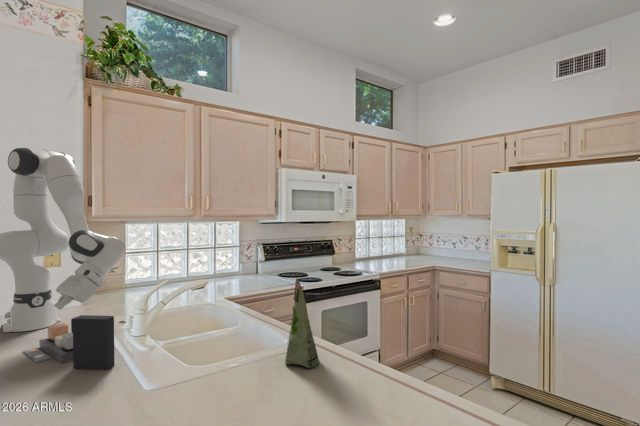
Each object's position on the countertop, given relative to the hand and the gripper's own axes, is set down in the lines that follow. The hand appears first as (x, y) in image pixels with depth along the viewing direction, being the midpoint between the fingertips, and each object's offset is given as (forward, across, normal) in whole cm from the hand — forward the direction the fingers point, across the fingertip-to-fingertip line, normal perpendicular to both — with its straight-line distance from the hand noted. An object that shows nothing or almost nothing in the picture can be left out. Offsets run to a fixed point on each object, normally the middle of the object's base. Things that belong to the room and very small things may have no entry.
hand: (57, 308), depth 125 cm
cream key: (+8, +7, +9) cm, 14 cm away
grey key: (+7, +14, +7) cm, 17 cm away
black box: (+9, +29, +10) cm, 32 cm away
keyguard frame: (+9, +7, +9) cm, 15 cm away
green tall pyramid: (-19, +76, +37) cm, 87 cm away
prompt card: (+14, +4, +4) cm, 15 cm away
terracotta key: (+7, 0, +7) cm, 10 cm away
